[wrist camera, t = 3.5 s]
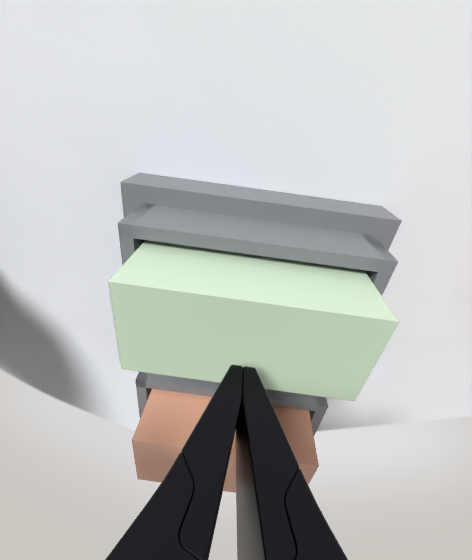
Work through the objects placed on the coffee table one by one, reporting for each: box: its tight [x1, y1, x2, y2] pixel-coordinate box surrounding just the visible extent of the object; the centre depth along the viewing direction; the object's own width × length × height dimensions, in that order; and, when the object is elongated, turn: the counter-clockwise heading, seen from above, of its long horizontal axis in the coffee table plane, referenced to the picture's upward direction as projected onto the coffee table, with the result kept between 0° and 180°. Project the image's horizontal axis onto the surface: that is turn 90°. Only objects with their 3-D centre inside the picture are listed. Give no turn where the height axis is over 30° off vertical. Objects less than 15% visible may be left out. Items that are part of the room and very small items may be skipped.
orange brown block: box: [132, 389, 318, 492], centre depth 17 cm, size 10×4×4 cm, turn 83°
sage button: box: [108, 240, 399, 401], centre depth 12 cm, size 10×4×4 cm, turn 83°
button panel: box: [118, 173, 401, 436], centre depth 18 cm, size 14×18×6 cm
